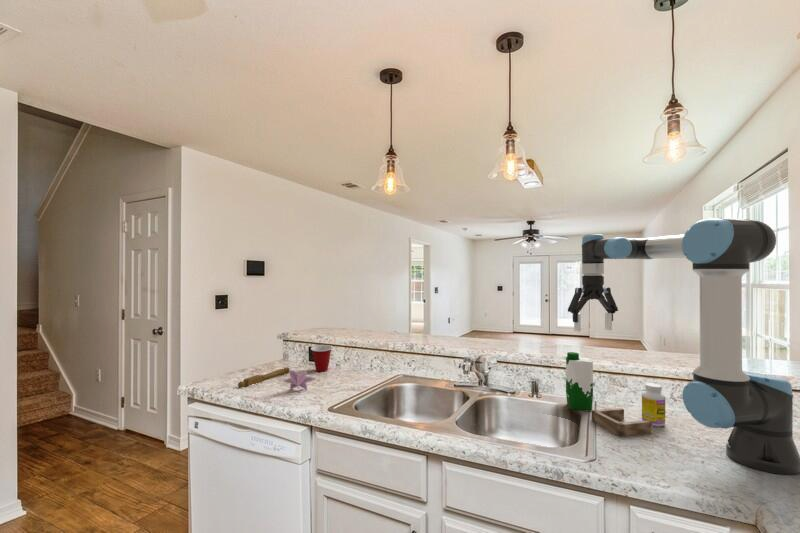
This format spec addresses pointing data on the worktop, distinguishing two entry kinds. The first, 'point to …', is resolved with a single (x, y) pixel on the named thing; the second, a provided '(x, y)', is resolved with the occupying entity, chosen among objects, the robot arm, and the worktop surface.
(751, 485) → the worktop surface
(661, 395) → the supplement bottle
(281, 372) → the tap handle
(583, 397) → the milk carton
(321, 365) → the plastic cup
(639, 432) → the walnut dock
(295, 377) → the lily
